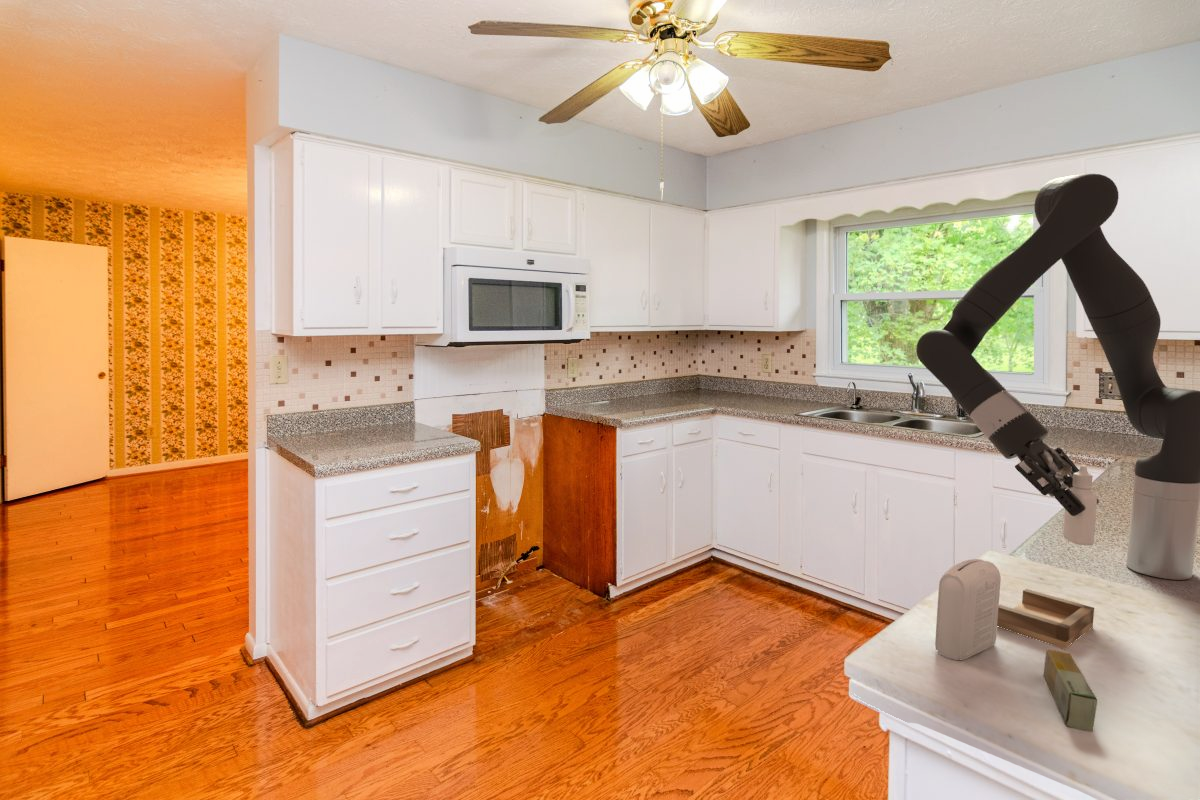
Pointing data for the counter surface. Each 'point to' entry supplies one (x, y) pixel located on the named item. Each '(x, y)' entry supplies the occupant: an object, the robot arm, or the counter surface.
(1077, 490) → the eye dropper bottle
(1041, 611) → the oak tray
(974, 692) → the counter surface
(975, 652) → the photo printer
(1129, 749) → the counter surface
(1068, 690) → the medication box
